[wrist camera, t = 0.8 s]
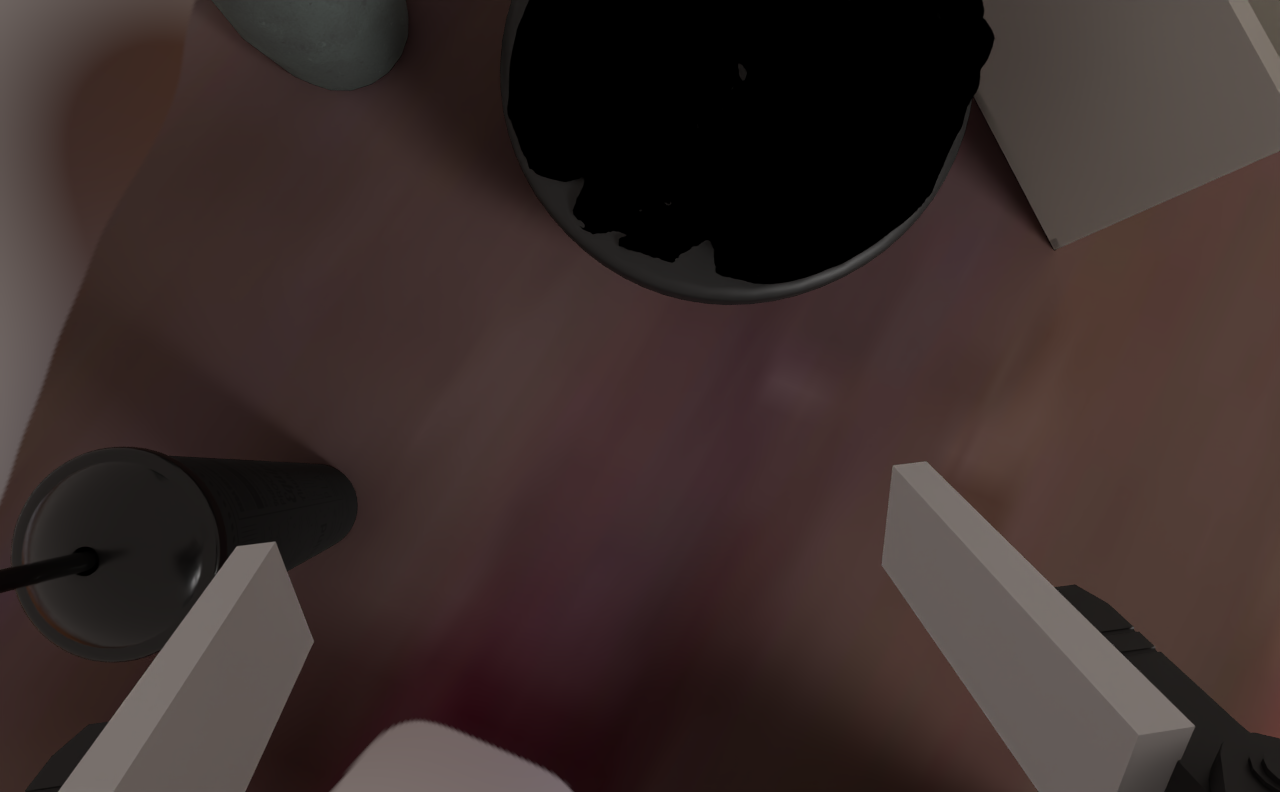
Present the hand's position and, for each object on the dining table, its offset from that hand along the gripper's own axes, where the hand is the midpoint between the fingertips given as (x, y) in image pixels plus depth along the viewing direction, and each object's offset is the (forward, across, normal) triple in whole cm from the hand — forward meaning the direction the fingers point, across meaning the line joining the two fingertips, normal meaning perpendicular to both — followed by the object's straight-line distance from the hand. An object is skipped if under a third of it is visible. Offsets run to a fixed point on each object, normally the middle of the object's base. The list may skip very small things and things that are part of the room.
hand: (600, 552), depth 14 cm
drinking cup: (+21, +16, +11) cm, 29 cm away
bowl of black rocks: (+27, -9, -5) cm, 29 cm away
